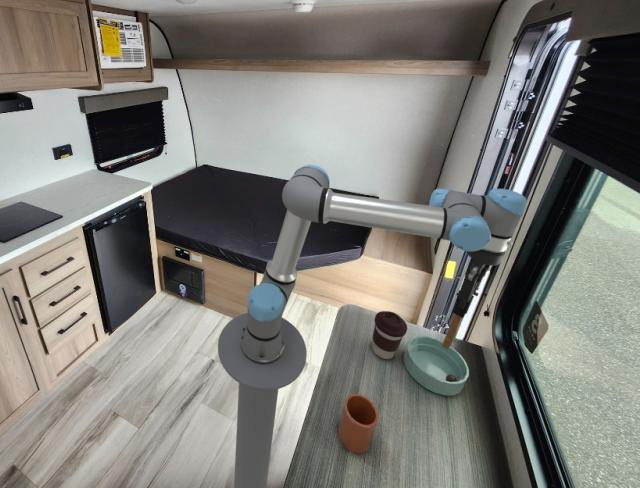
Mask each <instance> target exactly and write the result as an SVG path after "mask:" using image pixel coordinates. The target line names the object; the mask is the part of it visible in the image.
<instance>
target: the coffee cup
mask: <svg viewBox="0 0 640 488" xmlns="http://www.w3.org/2000/svg"><path fill="white" fill-rule="evenodd" d="M407 332H408V325H407V322H406V321H405V320H404V319H403V317H401V316H400V315H399V314H397V313H396V312H394V311H391V310H390V311H389V310H382V311H378V312H377V313H376V314H375V316H374V327H373V333H372V342H371V349H372V351H373V352H374V354H375V355H376V356H378V357H379V358H381V359H385V360H391V359H392V358H393V357H394V356H395V354H396V352H397V350H398V349H399V347H400V344H401V342H402V341H403V339H404V336H405V335H406V334H407Z"/></svg>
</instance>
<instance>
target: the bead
mask: <svg viewBox="0 0 640 488" xmlns="http://www.w3.org/2000/svg"><path fill="white" fill-rule="evenodd" d="M446 381H448V382H457V379H456V377H455V376H453V375H451V374H449V375H447V376H446Z"/></svg>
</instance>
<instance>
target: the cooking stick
mask: <svg viewBox="0 0 640 488" xmlns="http://www.w3.org/2000/svg"><path fill="white" fill-rule="evenodd" d="M473 293H474V292H473ZM472 295H473V294H472ZM473 296H474V295H473ZM462 321H463V318H462V317H460V316H458V315H456V314H454V316H453V318H452V320H451V323H450V325H449V327H448V330H447V332H446V335H445V337H444V338H443V339H444V340H443V344H442V346H443V347H444V348H446V349H447V350H448V349H449V348H450V346H451V347H452V344H453V342H454V339H455V337H456V335H457V332H458V330H459V327H460V325H461V322H462Z"/></svg>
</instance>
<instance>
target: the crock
mask: <svg viewBox="0 0 640 488" xmlns="http://www.w3.org/2000/svg"><path fill="white" fill-rule="evenodd" d="M378 422H379V412H378V410H377V407H376V405H375V404H374V402H373V401H372V400H371V399H370V398H368V397H367V396H364V395H362V394H360V393H352V394H349V395H348V396H347V397H345V400H344V403H343V407H342V410H341V416H340V419H339V423H338V426H337V427H338V428H337V433H338V437H339V440H340V442H341V444H342V445H343V446H344V447H345V449H347V450H349V451H350V452H352V453H355V454H363V453H365V452H367V451H368V450H369V448H370V446H371V443H372V441H373V437H374V434H375V431H376V428H377V424H378Z"/></svg>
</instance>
